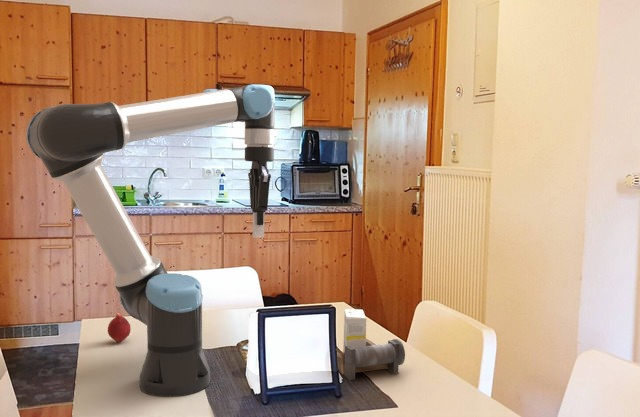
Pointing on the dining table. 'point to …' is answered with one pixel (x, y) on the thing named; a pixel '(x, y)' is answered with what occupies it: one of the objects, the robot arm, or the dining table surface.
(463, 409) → the dining table surface
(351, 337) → the ink box
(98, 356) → the dining table surface
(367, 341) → the grey roller holder
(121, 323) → the onion
